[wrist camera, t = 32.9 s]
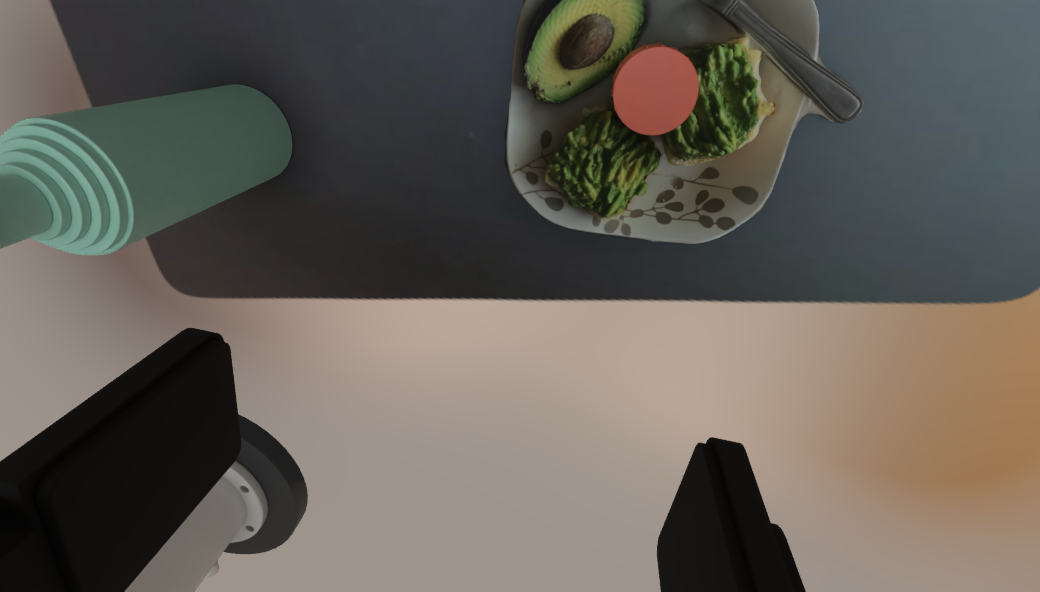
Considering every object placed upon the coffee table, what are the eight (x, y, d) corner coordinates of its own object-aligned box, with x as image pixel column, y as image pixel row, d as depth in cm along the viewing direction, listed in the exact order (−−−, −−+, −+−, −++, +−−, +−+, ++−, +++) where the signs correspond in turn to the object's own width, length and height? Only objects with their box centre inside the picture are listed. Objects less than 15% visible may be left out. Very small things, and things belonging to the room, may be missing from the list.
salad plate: (916, -64, 27) (971, -79, 23) (786, 259, 35) (810, 291, 31) (535, -113, 28) (523, -135, 24) (498, 210, 36) (485, 233, 32)
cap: (625, 33, 27) (627, 35, 24) (703, 54, 27) (714, 58, 24) (601, 113, 29) (601, 123, 26) (674, 133, 29) (681, 145, 26)
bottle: (295, 187, 38) (48, 318, 21) (210, 170, 38) (-98, 286, 22) (290, 93, 35) (-2, 159, 18) (198, 76, 35) (-171, 125, 19)
